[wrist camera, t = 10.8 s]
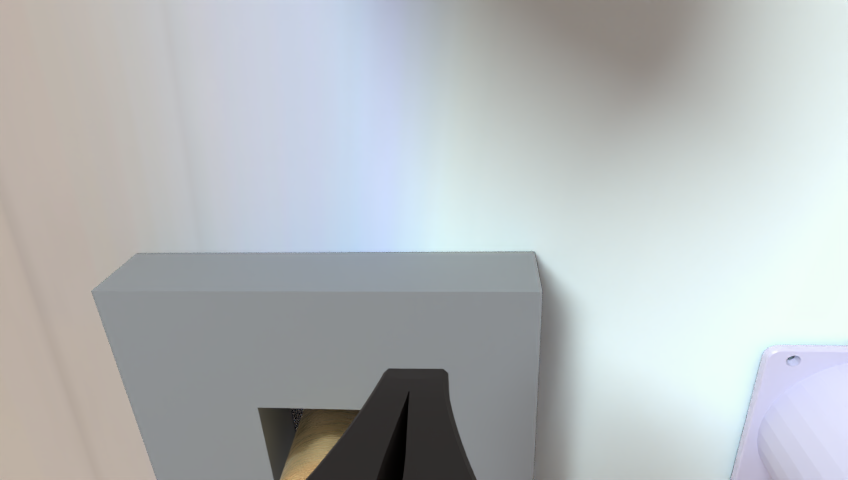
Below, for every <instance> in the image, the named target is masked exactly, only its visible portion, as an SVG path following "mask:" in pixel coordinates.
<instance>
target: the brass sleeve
mask: <svg viewBox="0 0 848 480" xmlns="http://www.w3.org/2000/svg"><path fill="white" fill-rule="evenodd" d="M359 411H360V410H345V409H304V410H303V413H302V416H301V419H300V422H299V425H298V428H297V431H296V434H295V437H294V440H293V443H292V446H291V449H290V451H289V454H288V457H287V460H286V463H285V466H284V469H283V472H282V475H281V478H280V480H305V479H306V478H307V477H308V476H309V475H310V474H311V473H312V472H313V471H314V469H315V468H316V467H317V466H318V465H319V464H320V462H321V461H322V460H323V459H324V457H325V456H326V455H327V454H328V452H329V451H330V450H331V449H332V448H333V446H334V445H335V444H336V443H337V441H338V440H339V439H340V438H341V436H342V435H343V434H344V432H345V431H346V429H347V428H348V427H349V425H350V424H351V422H352V421H353V420H354V418H355V417H356V416H357V414H358V413H359Z"/></svg>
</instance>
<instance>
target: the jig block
mask: <svg viewBox="0 0 848 480" xmlns="http://www.w3.org/2000/svg"><path fill="white" fill-rule="evenodd" d="M91 292H92V295H93V298H94V300H95V303H96V306H97V309H98V312H99V315H100V318H101V321H102V323H103V326H104V329H105V332H106V335H107V338H108V341H109V344H110V346H111V349H112V352H113V355H114V358H115V361H116V364H117V367H118V370H119V372H120V375H121V378H122V381H123V384H124V387H125V390H126V393H127V395H128V398H129V401H130V404H131V407H132V410H133V413H134V416H135V418H136V421H137V424H138V427H139V430H140V433H141V436H142V439H143V442H144V444H145V447H146V450H147V453H148V456H149V459H150V462H151V465H152V467H153V470H154V473H155V476H156V479H157V480H280V478H281V475H282V472H283V469H284V466H285V463H286V460H287V457H288V454H289V451H290V449H291V446H292V443H293V440H294V437H295V434H296V432H295V427H294V422H293V417H292V412H291V408H302V409H345V410H361V408H362V407H363V405H364V404H365V402H366V401H367V399H368V398H369V396H370V395H371V393H372V392H373V390H374V388H375V387H376V385H377V383H378V382H379V380H380V378H381V377H382V375H383V373H384V372H385V371H386V370H387V369H388V368H400V369H444V370H445V371H446V372H448V376H449V394H450V402H451V407H452V411H453V415H454V419H455V422H456V425H457V429H458V432H459V435H460V438H461V441H462V444H463V447H464V449H465V452H466V455H467V457H468V460H469V462H470V465H471V467H472V470H473V472H474V475H475V477H476V479H477V480H534V460H535V439H536V418H537V398H538V377H539V356H540V335H541V315H542V294H543V292H542V287H541V282H540V277H539V272H538V267H537V262H536V257H535V252H347V253H142V254H135V255H134V256H133V257H132V258H131V259H129V260H128V261H127V262H126V263H125V264H123V265H122V266H121V267H120V268H119V269H117V270H116V271H115V272H114V273H112V274H111V275H110V276H109V277H108V278H106V279H105V280H104V281H103V282H102V283H100V284H99V285H98V286H97V287H96V288H94V289H93V290H92V291H91Z"/></svg>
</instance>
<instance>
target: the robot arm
mask: <svg viewBox="0 0 848 480" xmlns="http://www.w3.org/2000/svg"><path fill="white" fill-rule="evenodd" d="M791 356H795V357H794V358H793V359H791V360H787V359H788V358H789V357H791ZM305 480H477V479H476V477H475V475H474V472H473V470H472V467H471V465H470V462H469V460H468V457H467V455H466V452H465V449H464V447H463V444H462V441H461V438H460V435H459V432H458V429H457V425H456V422H455V419H454V415H453V411H452V407H451V402H450V394H449V376H448V372H446V371H445V370H444V369H400V368H388V369H387V370H386V371H385V372H384V373H383V375H382V377H381V378H380V380H379V382H378V383H377V385H376V387H375V388H374V390H373V392H372V393H371V395H370V396H369V398H368V399H367V401H366V402H365V404H364V405H363V407H362V408H361V410H360V411H359V413H358V414H357V416H356V417H355V418H354V420H353V421H352V422H351V424H350V425H349V427H348V428H347V429H346V431H345V432H344V434H343V435H342V436H341V438H340V439H339V440H338V441H337V443H336V444H335V445H334V446H333V448H332V449H331V450H330V451H329V452H328V454H327V455H326V456H325V457H324V459H323V460H322V461H321V462H320V464H319V465H318V466H317V467H316V468H315V469H314V471H313V472H312V473H311V474H310V475H309V476H308V477H307V478H306V479H305ZM731 480H848V346H828V345H775V346H771V347H769V348H767V349H766V350H765V351H764V353H763V355H762V358H761V362H760V366H759V370H758V374H757V378H756V382H755V385H754V389H753V393H752V397H751V401H750V405H749V409H748V413H747V417H746V421H745V425H744V429H743V433H742V436H741V440H740V444H739V448H738V452H737V456H736V460H735V464H734V468H733V472H732V476H731Z"/></svg>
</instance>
